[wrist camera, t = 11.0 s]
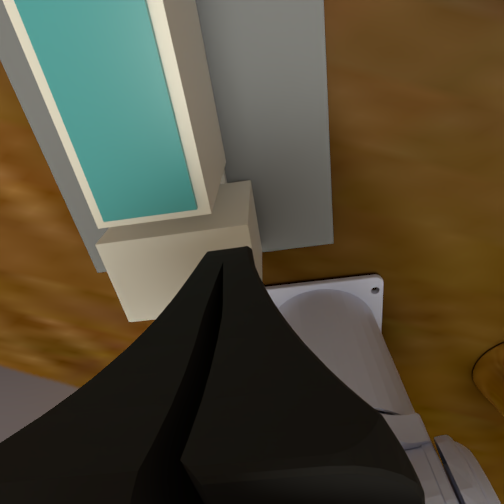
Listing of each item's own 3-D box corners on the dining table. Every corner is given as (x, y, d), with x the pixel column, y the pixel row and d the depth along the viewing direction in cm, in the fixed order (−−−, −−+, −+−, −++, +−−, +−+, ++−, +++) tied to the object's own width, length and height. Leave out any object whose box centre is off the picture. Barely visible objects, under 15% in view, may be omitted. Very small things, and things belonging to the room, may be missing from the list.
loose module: (226, 162, 17) (210, 216, 11) (146, 173, 17) (95, 231, 12) (192, -18, 13) (147, -61, 8) (92, 1, 14) (-14, -27, 8)
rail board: (330, 234, 20) (357, 306, 15) (103, 263, 22) (50, 339, 16) (308, -248, 11) (355, -529, 6) (-77, -149, 13) (-341, -301, 7)
